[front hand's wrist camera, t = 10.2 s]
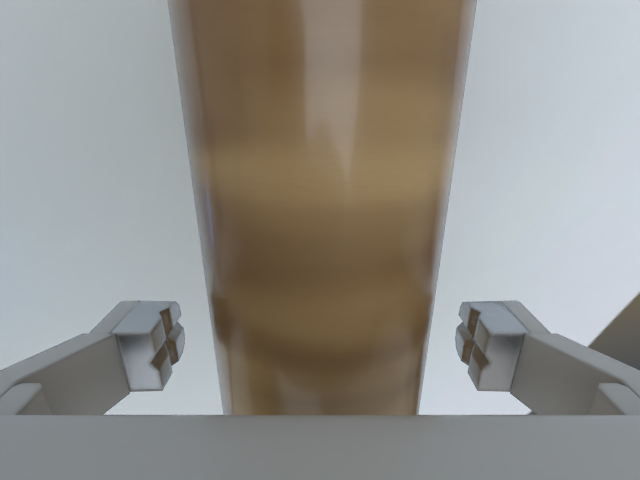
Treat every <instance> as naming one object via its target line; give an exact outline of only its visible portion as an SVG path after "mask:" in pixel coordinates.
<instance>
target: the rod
mask: <svg viewBox="0 0 640 480" xmlns="http://www.w3.org/2000/svg"><path fill="white" fill-rule="evenodd" d="M476 4H477V0H168V6H169V14H170V21H171V28H172V36H173V43H174V51H175V58H176V66H177V73H178V80H179V88H180V95H181V103H182V110H183V117H184V125H185V132H186V140H187V147H188V155H189V162H190V169H191V177H192V184H193V192H194V199H195V206H196V214H197V221H198V229H199V236H200V244H201V251H202V258H203V266H204V273H205V281H206V288H207V296H208V303H209V310H210V318H211V325H212V333H213V340H214V347H215V355H216V362H217V370H218V377H219V385H220V392H221V399H222V407H223V414H224V415H418V414H419V407H420V400H421V393H422V386H423V378H424V371H425V364H426V357H427V350H428V343H429V336H430V329H431V322H432V315H433V308H434V301H435V294H436V287H437V279H438V272H439V265H440V258H441V251H442V244H443V237H444V230H445V223H446V216H447V209H448V202H449V195H450V188H451V181H452V173H453V166H454V159H455V152H456V145H457V138H458V131H459V124H460V117H461V110H462V103H463V96H464V89H465V82H466V74H467V67H468V60H469V53H470V46H471V39H472V32H473V25H474V18H475V11H476Z"/></svg>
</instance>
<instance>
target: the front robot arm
mask: <svg viewBox="0 0 640 480" xmlns="http://www.w3.org/2000/svg"><path fill="white" fill-rule="evenodd" d="M180 316H181V311H180V306H179V304H178V303H177V302H176V301H122V302H120V303H119V304H118V305H117V306H116V307H115V308H114V309H113V310H112V311H111V312H110V313H109V314H108V315H107V316H106V317H105V318H104V319H103V320H102V321H101V322H100V323H99V324H98V325H97V326H96V327H95V328H94V329H93V330H92V331H91V332H90V333H89V334H81V335H79V336H77V337H74V338H72V339H70V340H68V341H65V342H63V343H61V344H59V345H56V346H54V347H52V348H50V349H48V350H45V351H43V352H41V353H39V354H36V355H34V356H32V357H30V358H27V359H25V360H23V361H21V362H18V363H16V364H14V365H12V366H9V367H7V368H5V369H3V370H0V480H640V371H639V370H637V369H635V368H633V367H630V366H628V365H626V364H624V363H621V362H619V361H617V360H615V359H612V358H610V357H608V356H606V355H604V354H601V353H599V352H597V351H595V350H592V349H590V348H588V347H586V346H583V345H581V344H579V343H577V342H575V341H572V340H570V339H568V338H566V337H563V336H561V335H559V334H551V333H550V332H549V331H548V330H547V329H546V328H545V327H544V326H543V325H542V324H541V323H540V322H539V321H538V320H537V319H536V318H535V317H534V316H533V315H532V314H531V313H530V312H529V311H528V310H527V309H526V308H525V307H524V306H523V305H522V304H521V303H520V302H518V301H516V300H514V301H482V302H462V304H461V306H460V311H459V316H460V318H461V319H462V321H463V322H462V323H461V324H460V325H459V326H458V327H457V328H456V336H455V342H456V349H457V352H458V355H459V357H460V359H461V361H462V362H464V363H465V364H467V365H468V366H469V368H468V374H469V376H470V378H471V380H472V381H473V383H474V385H475V387H476V389H477V390H478V391H506V392H510V393H511V394H512V395H513V396H514V397H516V398H517V399H518V400H519V401H521V402H522V403H523V404H525V405H526V406H527V407H528V408H530V409H531V410H532V411H533V412H535V413H536V414H537V415H103V414H104V413H105V412H107V411H108V410H109V409H110V408H112V407H113V406H114V405H116V404H117V403H118V402H119V401H121V400H122V399H123V398H124V397H126V396H127V395H128V394H130V392H134V391H163V389H164V387H165V385H166V383H167V381H168V380H169V378H170V376H171V374H172V368H171V366H172V365H173V364H175V363H176V362H178V361H179V359H180V357H181V355H182V353H183V348H184V344H185V334H184V328H183V327H182V326H181V325H180V324H179V323H178V322H177V321H178V319H179V318H180Z"/></svg>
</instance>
